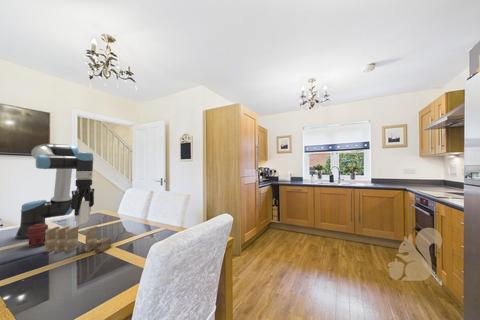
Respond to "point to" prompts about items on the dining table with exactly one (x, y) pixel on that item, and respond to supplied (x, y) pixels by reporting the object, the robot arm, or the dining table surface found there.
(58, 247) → the domino
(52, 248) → the domino
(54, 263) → the dining table surface
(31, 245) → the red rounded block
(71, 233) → the domino
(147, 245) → the dining table surface
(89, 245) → the domino
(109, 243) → the stop block
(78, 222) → the domino
